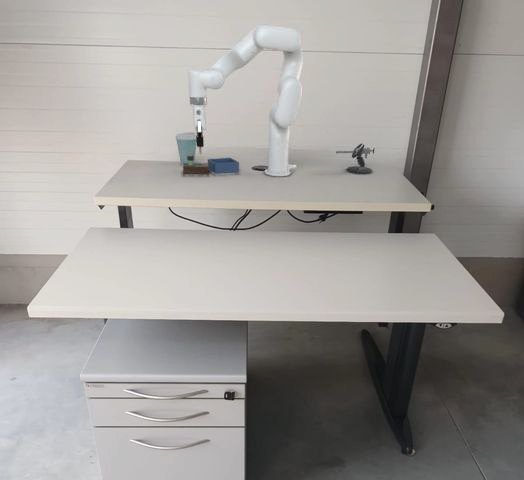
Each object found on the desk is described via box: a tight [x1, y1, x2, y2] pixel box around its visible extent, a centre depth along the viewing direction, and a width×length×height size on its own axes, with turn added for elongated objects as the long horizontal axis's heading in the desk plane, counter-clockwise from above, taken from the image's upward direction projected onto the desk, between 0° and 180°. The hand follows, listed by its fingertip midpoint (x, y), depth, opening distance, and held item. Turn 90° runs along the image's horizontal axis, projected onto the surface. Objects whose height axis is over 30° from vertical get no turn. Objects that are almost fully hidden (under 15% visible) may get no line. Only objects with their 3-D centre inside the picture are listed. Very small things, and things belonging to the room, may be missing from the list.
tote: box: [207, 157, 240, 175], centre depth 241 cm, size 12×10×6 cm
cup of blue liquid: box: [175, 131, 197, 165], centre depth 249 cm, size 11×11×15 cm
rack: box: [182, 162, 209, 175], centre depth 236 cm, size 7×11×4 cm, turn 96°
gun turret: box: [335, 143, 376, 175], centre depth 250 cm, size 13×20×13 cm, turn 102°
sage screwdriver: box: [187, 152, 194, 165], centre depth 234 cm, size 3×3×9 cm
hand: (200, 145), depth 230 cm, fingers closed on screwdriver, 3 cm apart
